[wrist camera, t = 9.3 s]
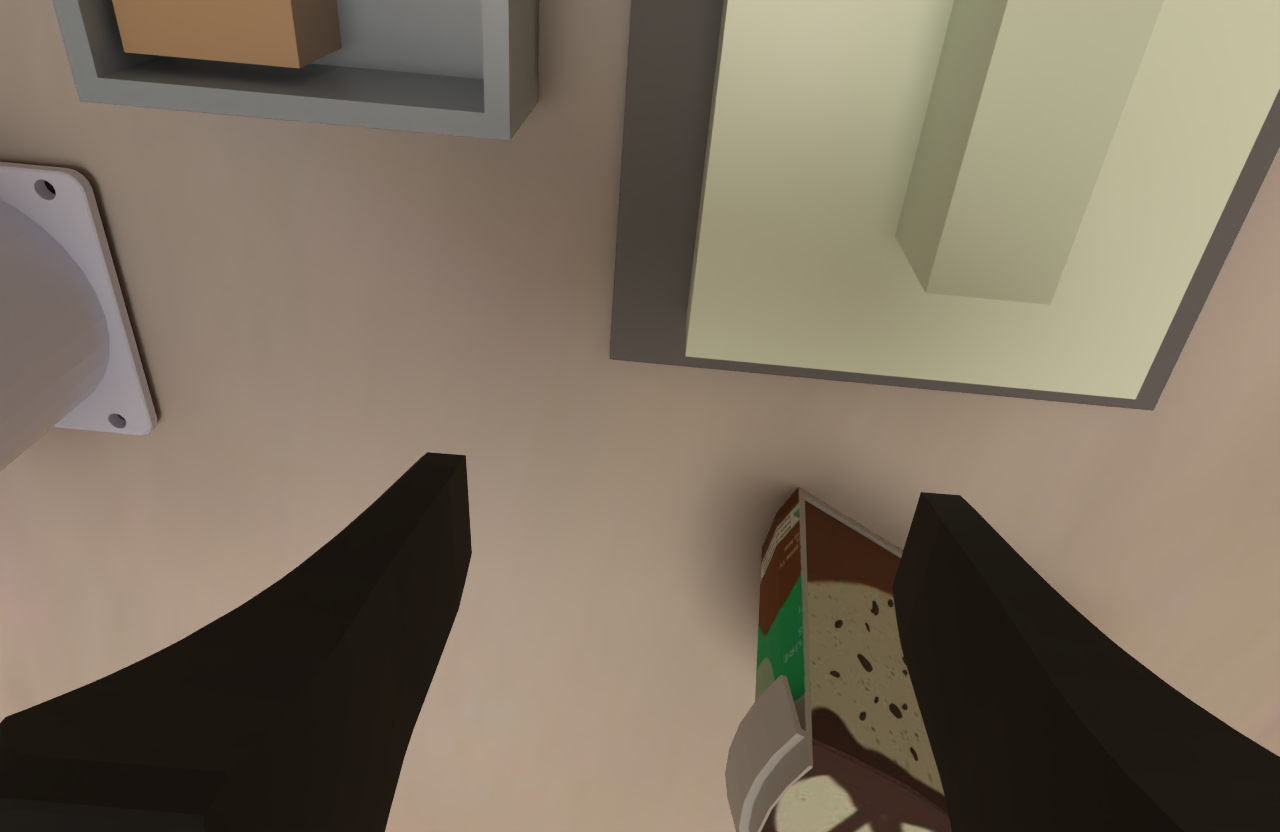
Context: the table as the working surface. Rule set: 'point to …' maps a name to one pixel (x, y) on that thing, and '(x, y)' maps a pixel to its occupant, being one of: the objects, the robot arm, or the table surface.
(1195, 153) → the lid
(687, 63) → the rubber mat
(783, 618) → the food container
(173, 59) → the storage box
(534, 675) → the table surface
